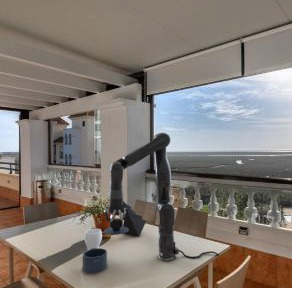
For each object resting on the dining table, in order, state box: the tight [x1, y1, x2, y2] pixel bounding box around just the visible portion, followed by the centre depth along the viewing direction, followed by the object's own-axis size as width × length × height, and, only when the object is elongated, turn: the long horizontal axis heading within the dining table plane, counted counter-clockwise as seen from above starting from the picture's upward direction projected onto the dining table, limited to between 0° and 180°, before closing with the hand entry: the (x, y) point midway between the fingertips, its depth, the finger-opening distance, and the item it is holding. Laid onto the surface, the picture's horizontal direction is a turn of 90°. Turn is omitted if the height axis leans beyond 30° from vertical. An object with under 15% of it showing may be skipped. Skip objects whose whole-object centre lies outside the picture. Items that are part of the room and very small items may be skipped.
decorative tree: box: [121, 200, 147, 238], centre depth 184 cm, size 15×15×35 cm
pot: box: [82, 247, 108, 274], centre depth 135 cm, size 13×18×8 cm
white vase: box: [83, 228, 103, 250], centre depth 151 cm, size 11×11×15 cm
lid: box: [103, 217, 129, 236], centre depth 138 cm, size 14×14×7 cm
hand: (116, 227), depth 138 cm, fingers closed on lid, 4 cm apart
